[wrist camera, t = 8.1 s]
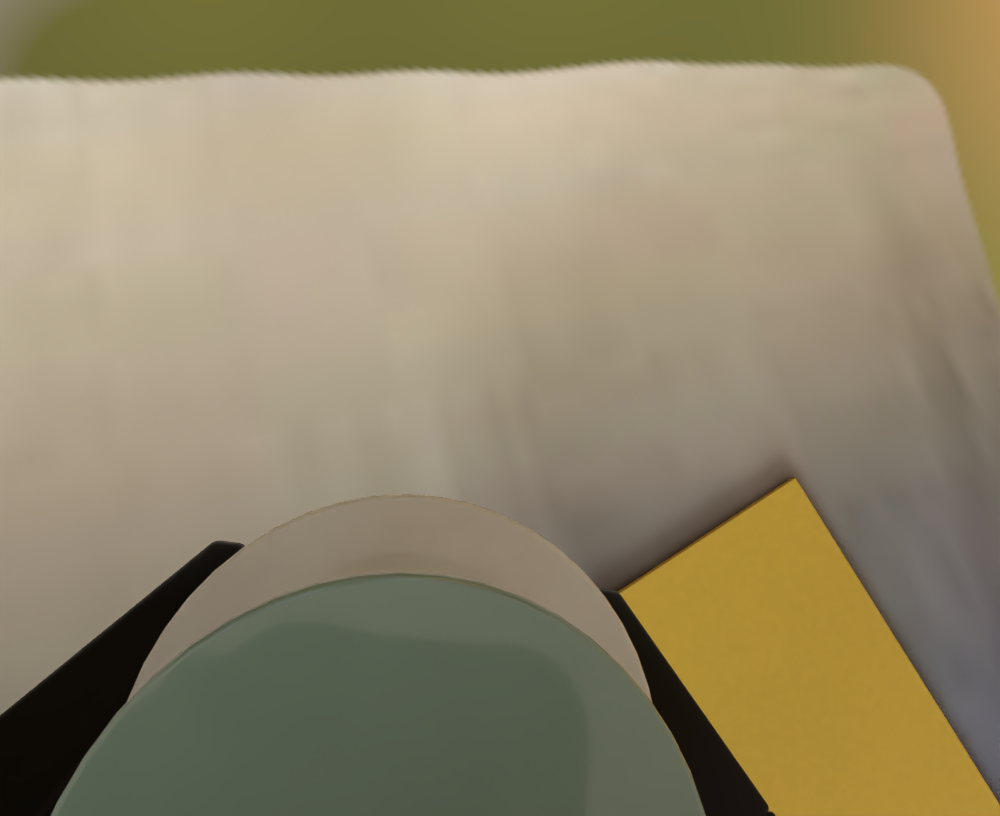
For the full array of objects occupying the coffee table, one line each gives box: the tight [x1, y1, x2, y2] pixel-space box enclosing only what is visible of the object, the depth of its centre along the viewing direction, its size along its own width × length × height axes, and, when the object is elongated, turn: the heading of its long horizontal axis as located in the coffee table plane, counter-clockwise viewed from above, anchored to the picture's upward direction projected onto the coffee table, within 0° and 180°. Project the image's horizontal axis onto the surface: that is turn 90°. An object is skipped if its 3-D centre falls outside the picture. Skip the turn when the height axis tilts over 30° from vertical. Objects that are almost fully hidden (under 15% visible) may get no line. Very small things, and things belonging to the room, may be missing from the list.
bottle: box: [50, 494, 706, 816], centre depth 10 cm, size 5×5×12 cm
